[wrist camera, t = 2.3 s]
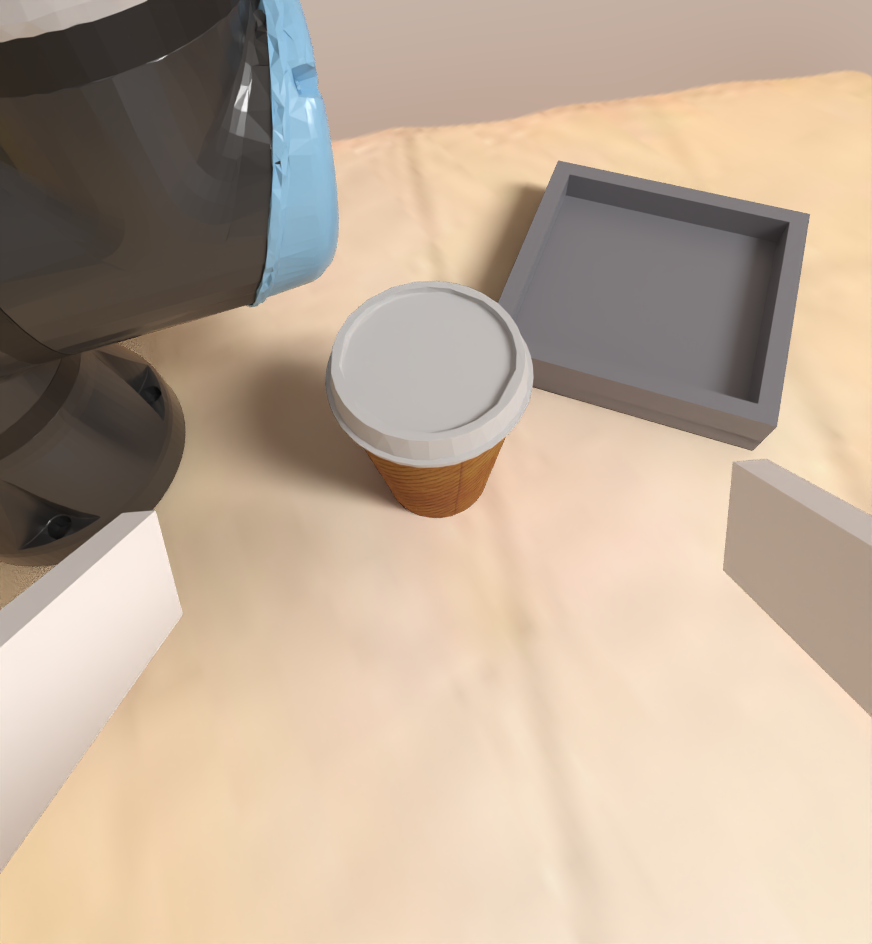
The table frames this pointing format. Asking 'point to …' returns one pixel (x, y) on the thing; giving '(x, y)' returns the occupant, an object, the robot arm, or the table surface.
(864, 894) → the table surface
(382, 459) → the disposable coffee cup
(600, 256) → the charcoal serving tray
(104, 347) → the robot arm
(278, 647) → the table surface
